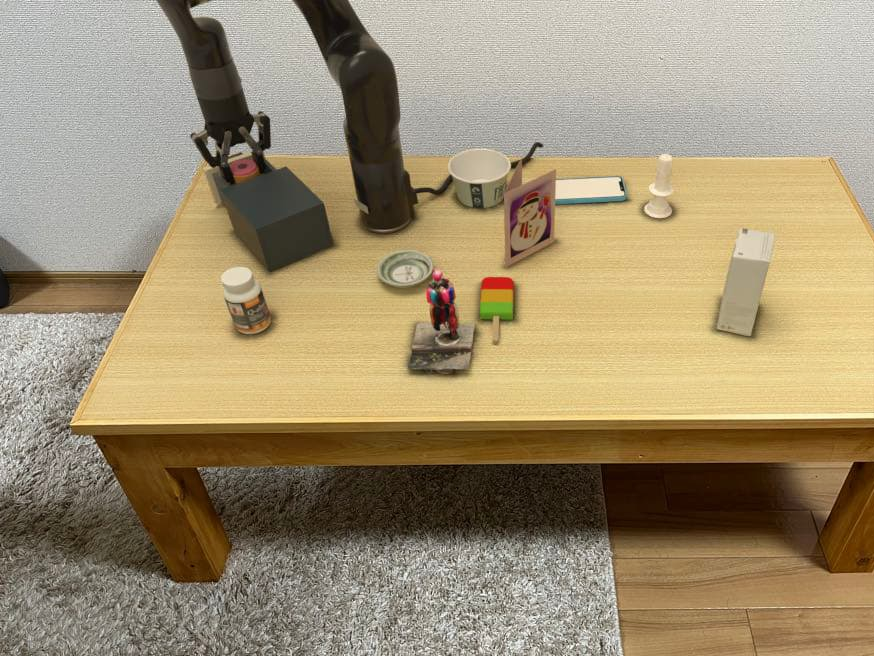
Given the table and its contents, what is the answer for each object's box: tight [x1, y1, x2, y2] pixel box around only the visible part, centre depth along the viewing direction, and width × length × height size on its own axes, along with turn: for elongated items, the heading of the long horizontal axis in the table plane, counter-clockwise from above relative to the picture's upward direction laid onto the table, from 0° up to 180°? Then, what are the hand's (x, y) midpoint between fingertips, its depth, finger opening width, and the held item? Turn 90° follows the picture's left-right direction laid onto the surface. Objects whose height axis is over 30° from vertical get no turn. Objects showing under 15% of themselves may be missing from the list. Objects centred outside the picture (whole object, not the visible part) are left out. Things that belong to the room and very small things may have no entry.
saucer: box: [376, 249, 434, 289], centre depth 133 cm, size 10×10×2 cm
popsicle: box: [479, 276, 515, 342], centre depth 127 cm, size 6×15×2 cm, turn 0°
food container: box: [447, 148, 512, 209], centre depth 148 cm, size 12×12×6 cm
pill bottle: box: [220, 266, 272, 335], centre depth 121 cm, size 6×6×10 cm
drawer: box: [202, 150, 277, 210], centre depth 144 cm, size 18×11×7 cm, turn 38°
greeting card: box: [503, 157, 557, 268], centre depth 134 cm, size 11×7×15 cm, turn 131°
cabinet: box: [220, 166, 335, 273], centre depth 137 cm, size 15×13×9 cm
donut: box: [230, 159, 261, 184], centre depth 140 cm, size 5×5×3 cm
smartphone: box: [555, 175, 627, 205], centre depth 151 cm, size 8×1×15 cm
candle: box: [643, 153, 675, 219], centre depth 143 cm, size 5×5×12 cm
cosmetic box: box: [716, 227, 776, 337], centre depth 122 cm, size 8×6×15 cm
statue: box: [406, 268, 476, 375], centre depth 117 cm, size 11×9×15 cm
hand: (245, 176), depth 141 cm, fingers closed on donut, 5 cm apart
